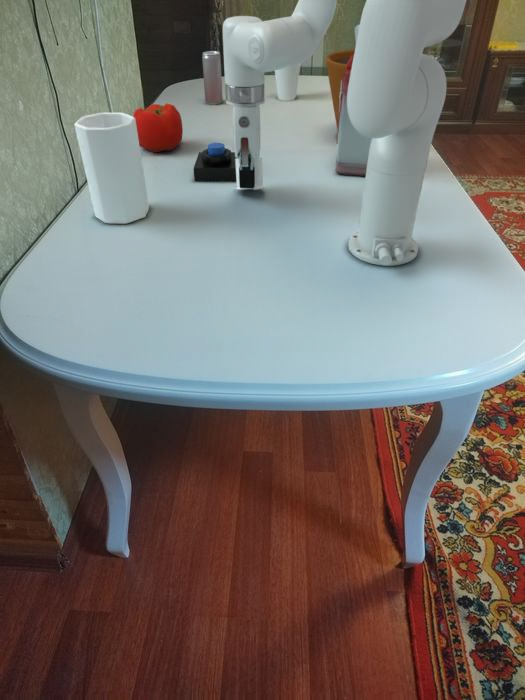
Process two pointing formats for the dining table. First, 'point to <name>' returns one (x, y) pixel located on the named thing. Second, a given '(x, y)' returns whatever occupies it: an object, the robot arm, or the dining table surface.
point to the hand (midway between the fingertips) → (247, 186)
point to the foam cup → (287, 82)
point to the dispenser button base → (215, 167)
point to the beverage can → (212, 77)
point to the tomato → (158, 127)
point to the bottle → (350, 133)
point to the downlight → (257, 174)
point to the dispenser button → (216, 149)
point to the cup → (113, 166)
